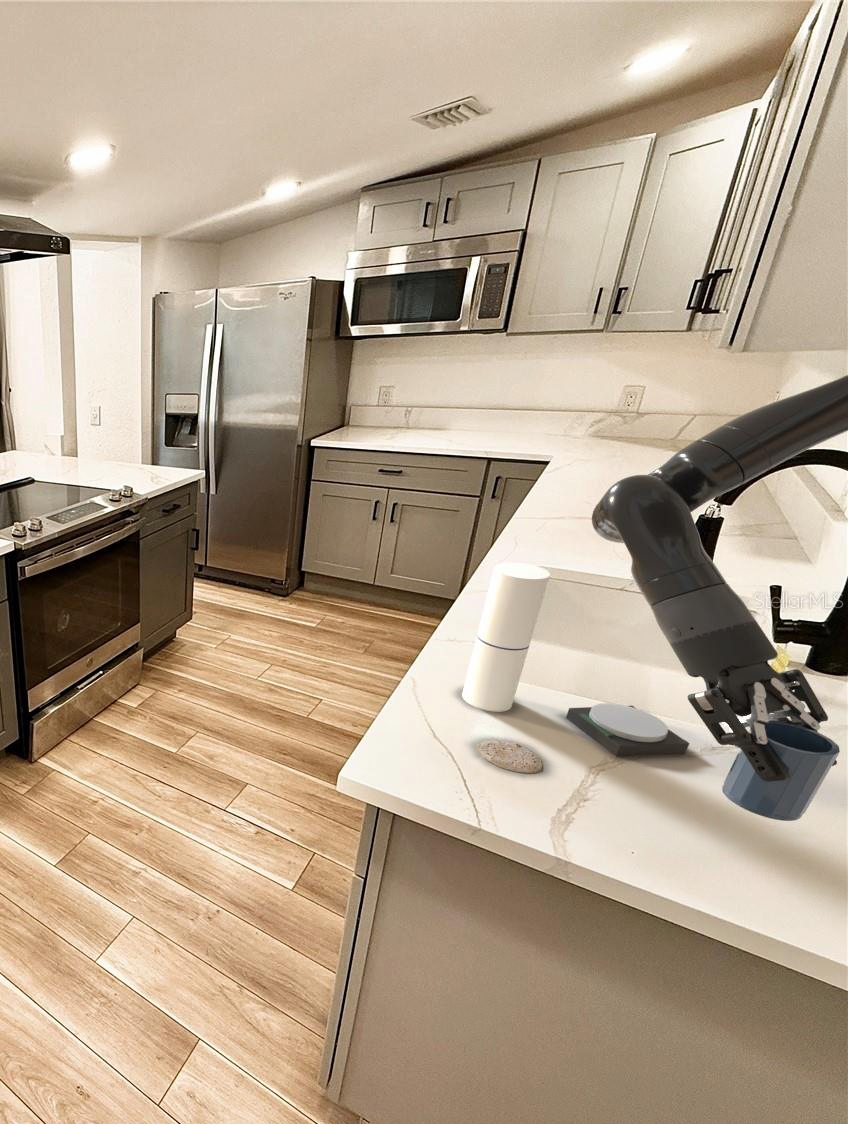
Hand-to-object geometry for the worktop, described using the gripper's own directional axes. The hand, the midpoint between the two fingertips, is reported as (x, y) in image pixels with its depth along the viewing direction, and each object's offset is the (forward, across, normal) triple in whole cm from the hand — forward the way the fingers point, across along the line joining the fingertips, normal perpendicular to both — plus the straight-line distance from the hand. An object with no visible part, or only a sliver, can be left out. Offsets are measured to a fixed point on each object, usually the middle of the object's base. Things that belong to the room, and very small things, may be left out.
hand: (800, 773), depth 66 cm
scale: (-6, +14, +28) cm, 32 cm away
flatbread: (-7, -6, +29) cm, 30 cm away
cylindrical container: (-16, +3, +38) cm, 41 cm away
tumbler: (+3, 0, +5) cm, 6 cm away
